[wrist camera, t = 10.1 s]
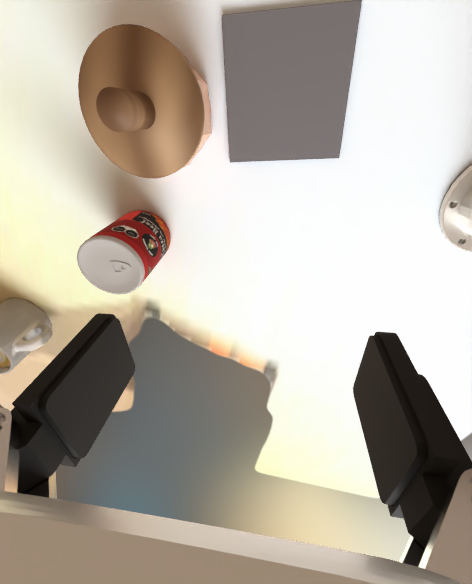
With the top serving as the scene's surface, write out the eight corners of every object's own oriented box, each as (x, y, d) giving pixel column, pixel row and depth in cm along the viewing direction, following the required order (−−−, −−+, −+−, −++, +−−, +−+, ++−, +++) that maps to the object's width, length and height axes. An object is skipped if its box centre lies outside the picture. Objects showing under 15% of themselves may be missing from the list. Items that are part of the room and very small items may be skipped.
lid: (196, 21, 22) (173, -7, 17) (210, 174, 29) (197, 186, 24) (66, 35, 24) (9, 13, 19) (107, 177, 31) (74, 190, 25)
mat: (360, 2, 25) (361, -1, 24) (337, 157, 32) (338, 157, 31) (222, 17, 26) (221, 15, 26) (230, 161, 34) (229, 162, 33)
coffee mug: (11, 331, 57) (-34, 368, 48) (-6, 293, 51) (-60, 328, 43) (72, 343, 56) (38, 382, 48) (62, 306, 51) (20, 343, 43)
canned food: (180, 249, 41) (154, 287, 32) (137, 262, 43) (101, 300, 34) (157, 201, 38) (119, 228, 28) (111, 217, 40) (62, 248, 31)
